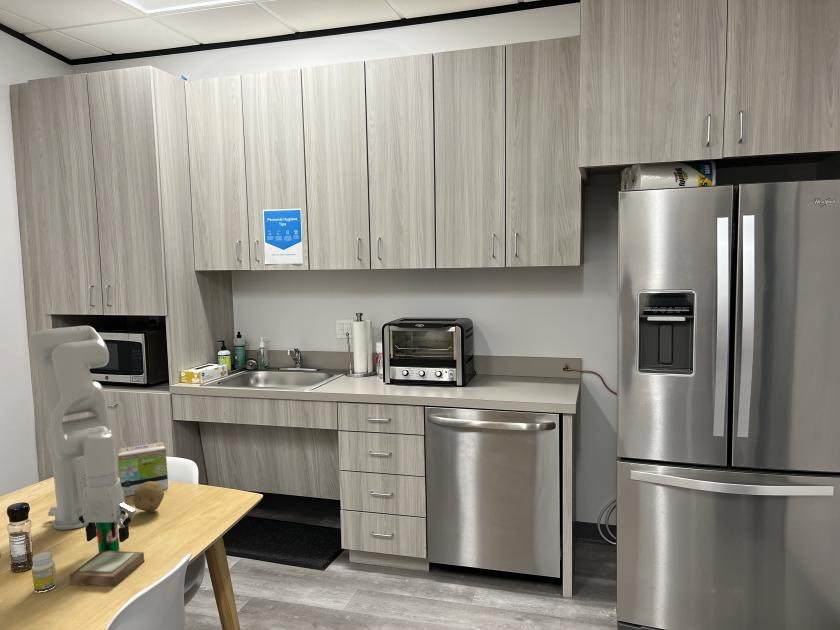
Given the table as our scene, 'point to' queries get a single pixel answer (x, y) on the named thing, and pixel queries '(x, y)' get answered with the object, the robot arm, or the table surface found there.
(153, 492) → the natural sponge
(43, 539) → the table surface
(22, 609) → the table surface
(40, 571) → the supplement bottle
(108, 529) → the soda can
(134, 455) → the tea box
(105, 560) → the walnut picture frame
